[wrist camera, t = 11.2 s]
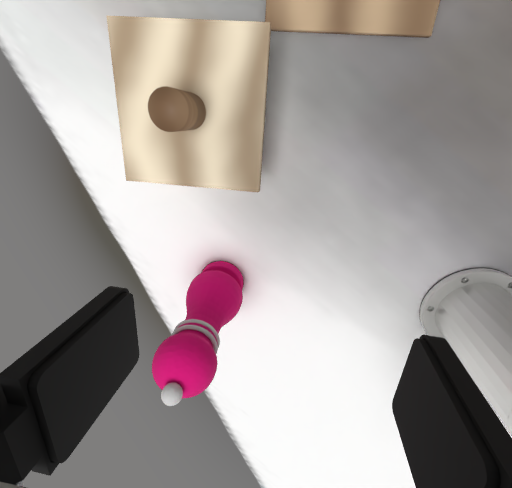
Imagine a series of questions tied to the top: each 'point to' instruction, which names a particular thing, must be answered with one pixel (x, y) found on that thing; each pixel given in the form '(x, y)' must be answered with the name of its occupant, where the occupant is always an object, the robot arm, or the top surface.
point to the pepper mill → (198, 333)
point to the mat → (354, 16)
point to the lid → (191, 99)
